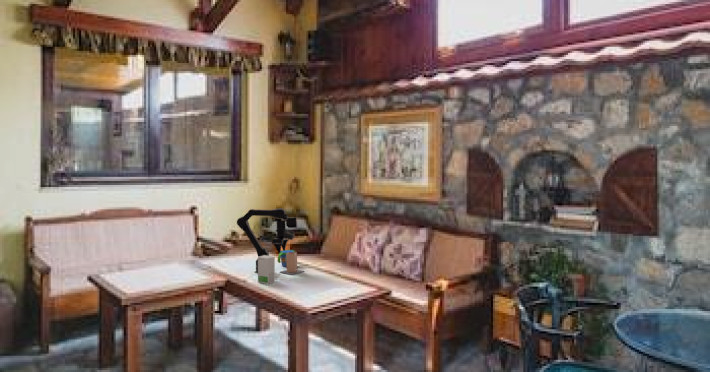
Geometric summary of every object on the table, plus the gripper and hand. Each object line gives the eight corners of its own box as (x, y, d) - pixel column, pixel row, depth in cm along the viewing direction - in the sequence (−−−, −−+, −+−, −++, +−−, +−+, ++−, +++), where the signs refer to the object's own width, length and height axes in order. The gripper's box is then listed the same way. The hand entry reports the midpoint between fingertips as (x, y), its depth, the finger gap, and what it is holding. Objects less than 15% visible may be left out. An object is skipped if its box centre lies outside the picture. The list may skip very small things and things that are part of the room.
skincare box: (257, 282, 314) (256, 256, 313) (264, 280, 320) (263, 254, 319) (269, 284, 310) (268, 258, 309) (275, 281, 316) (274, 255, 315)
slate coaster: (291, 275, 331) (291, 274, 331) (279, 272, 338) (279, 271, 338) (304, 271, 339) (304, 270, 339) (292, 269, 346) (292, 268, 346)
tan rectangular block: (286, 272, 336) (286, 253, 336) (289, 270, 342) (288, 252, 341) (294, 272, 336) (294, 253, 335) (297, 270, 341) (296, 252, 340)
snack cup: (292, 262, 366) (291, 248, 365) (301, 265, 359) (301, 250, 358) (273, 266, 355) (273, 251, 355) (282, 269, 348) (282, 254, 347)
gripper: (288, 230, 328) (289, 255, 329) (297, 226, 346) (298, 249, 347) (271, 230, 330) (272, 254, 331) (281, 225, 348) (281, 249, 349)
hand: (281, 252), depth 339 cm, fingers open, 9 cm apart
